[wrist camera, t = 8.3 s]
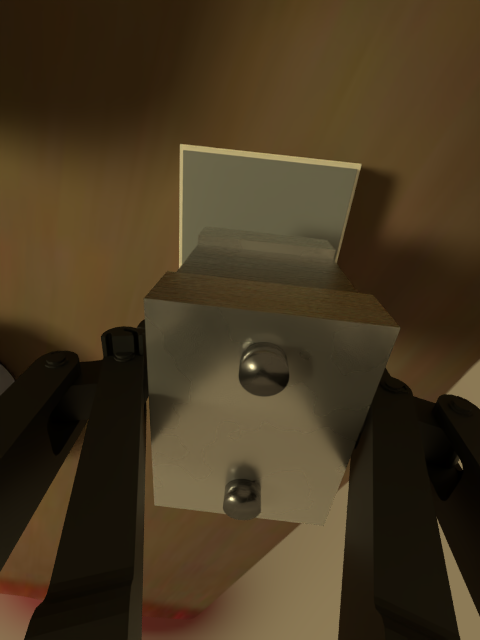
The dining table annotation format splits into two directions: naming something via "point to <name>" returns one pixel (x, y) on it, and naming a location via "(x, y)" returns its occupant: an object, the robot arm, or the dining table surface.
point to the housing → (259, 375)
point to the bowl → (5, 379)
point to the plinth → (263, 195)
